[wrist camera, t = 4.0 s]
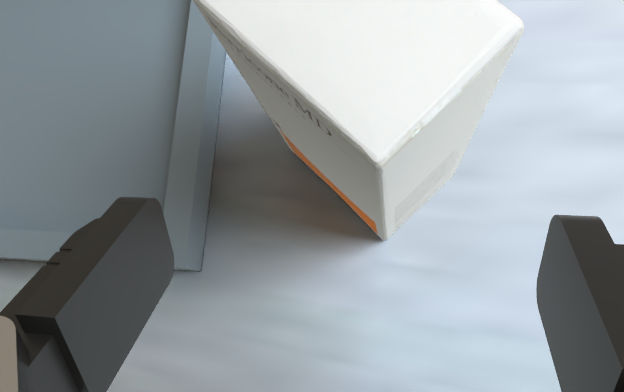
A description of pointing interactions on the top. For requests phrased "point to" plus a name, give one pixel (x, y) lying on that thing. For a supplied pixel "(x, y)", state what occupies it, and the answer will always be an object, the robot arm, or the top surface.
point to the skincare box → (371, 87)
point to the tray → (105, 118)
